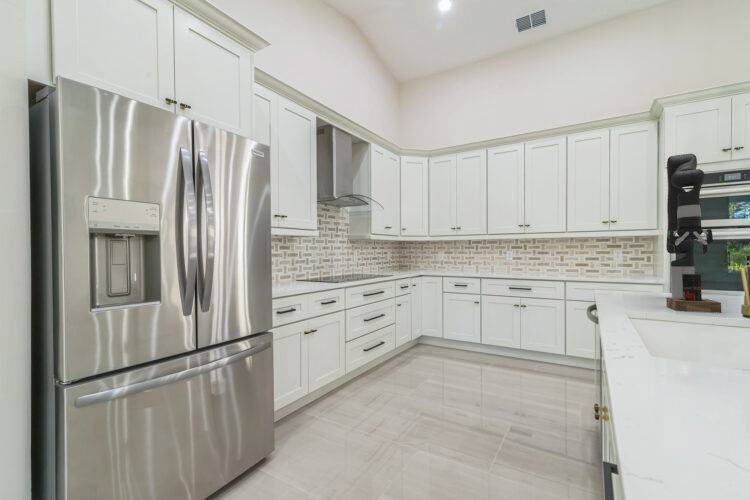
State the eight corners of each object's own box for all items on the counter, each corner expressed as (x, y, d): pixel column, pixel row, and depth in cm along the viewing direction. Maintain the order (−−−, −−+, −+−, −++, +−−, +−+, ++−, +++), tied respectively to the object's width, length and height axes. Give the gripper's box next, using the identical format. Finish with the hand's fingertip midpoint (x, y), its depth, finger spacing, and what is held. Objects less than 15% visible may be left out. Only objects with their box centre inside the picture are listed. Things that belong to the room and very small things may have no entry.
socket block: (666, 306, 157) (666, 297, 157) (707, 308, 151) (706, 298, 151) (676, 310, 145) (676, 301, 145) (721, 312, 138) (721, 302, 138)
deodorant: (706, 310, 145) (704, 274, 145) (691, 310, 145) (690, 274, 145) (693, 308, 151) (692, 273, 151) (679, 308, 151) (678, 274, 151)
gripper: (707, 216, 149) (708, 253, 148) (665, 218, 155) (666, 254, 155) (714, 214, 142) (716, 253, 142) (670, 216, 149) (671, 254, 148)
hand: (690, 254), depth 148 cm, fingers open, 8 cm apart
